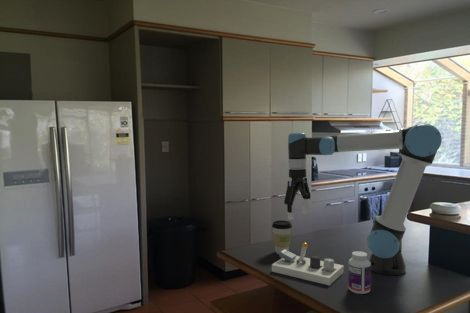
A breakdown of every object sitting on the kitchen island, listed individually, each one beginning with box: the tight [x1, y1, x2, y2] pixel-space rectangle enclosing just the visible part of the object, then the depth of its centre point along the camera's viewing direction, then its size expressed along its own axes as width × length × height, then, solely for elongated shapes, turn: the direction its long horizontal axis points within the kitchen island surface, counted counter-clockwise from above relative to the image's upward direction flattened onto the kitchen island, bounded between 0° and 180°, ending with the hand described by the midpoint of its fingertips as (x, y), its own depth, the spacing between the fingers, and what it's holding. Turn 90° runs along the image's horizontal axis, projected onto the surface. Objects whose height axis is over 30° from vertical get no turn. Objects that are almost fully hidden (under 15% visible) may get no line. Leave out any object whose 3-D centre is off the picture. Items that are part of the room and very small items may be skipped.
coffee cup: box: [271, 219, 293, 255], centre depth 188 cm, size 10×10×15 cm
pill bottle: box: [347, 250, 372, 295], centre depth 144 cm, size 8×8×14 cm
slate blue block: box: [278, 249, 297, 262], centre depth 168 cm, size 6×4×2 cm
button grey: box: [323, 258, 335, 272], centre depth 157 cm, size 4×4×4 cm
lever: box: [299, 242, 309, 262], centre depth 166 cm, size 3×3×9 cm
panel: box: [271, 255, 345, 286], centre depth 163 cm, size 26×16×5 cm, turn 55°
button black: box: [309, 255, 321, 269], centre depth 161 cm, size 4×4×4 cm
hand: (298, 216), depth 168 cm, fingers open, 13 cm apart
